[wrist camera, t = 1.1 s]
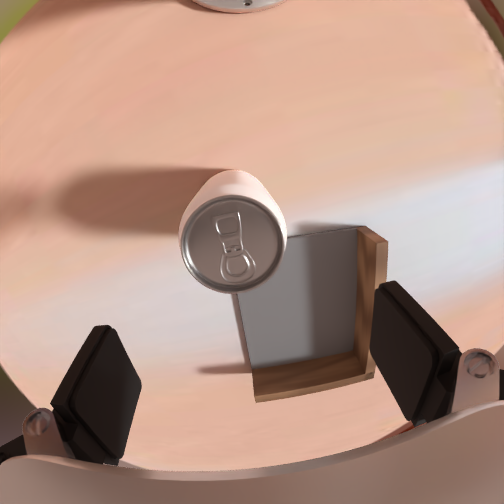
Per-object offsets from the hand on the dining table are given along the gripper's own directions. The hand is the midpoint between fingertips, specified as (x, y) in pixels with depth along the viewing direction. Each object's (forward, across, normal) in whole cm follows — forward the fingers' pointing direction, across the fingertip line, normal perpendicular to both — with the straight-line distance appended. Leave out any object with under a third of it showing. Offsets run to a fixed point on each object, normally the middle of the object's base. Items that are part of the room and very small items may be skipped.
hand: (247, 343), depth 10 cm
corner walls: (+18, -6, +12) cm, 23 cm away
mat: (+18, -6, +12) cm, 23 cm away
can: (+19, 0, -1) cm, 19 cm away
